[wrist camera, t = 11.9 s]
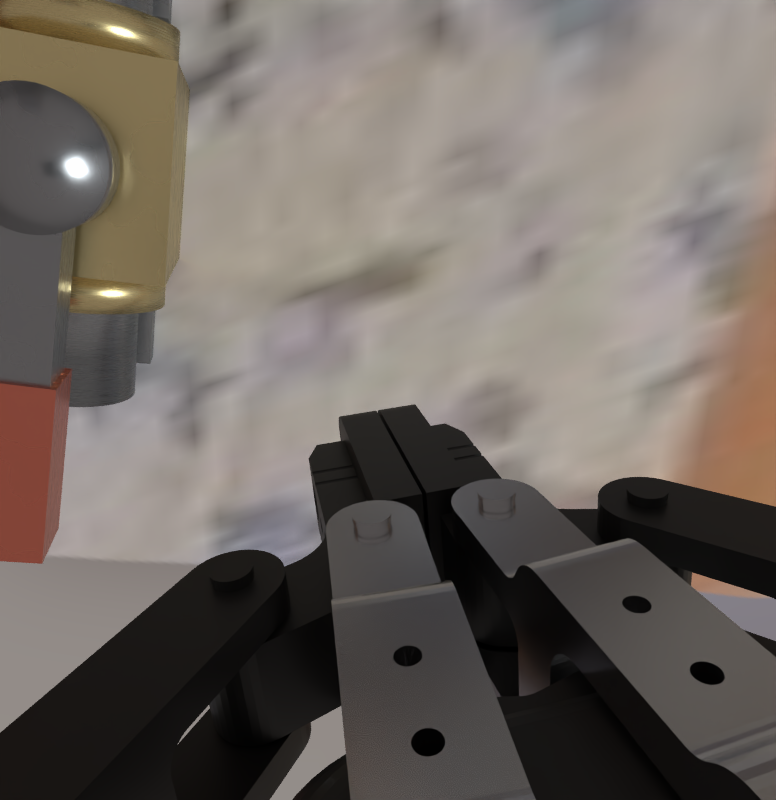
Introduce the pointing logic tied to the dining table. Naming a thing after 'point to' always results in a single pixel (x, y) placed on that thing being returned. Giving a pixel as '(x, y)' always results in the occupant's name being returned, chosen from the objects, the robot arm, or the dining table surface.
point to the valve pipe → (139, 170)
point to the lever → (41, 294)
